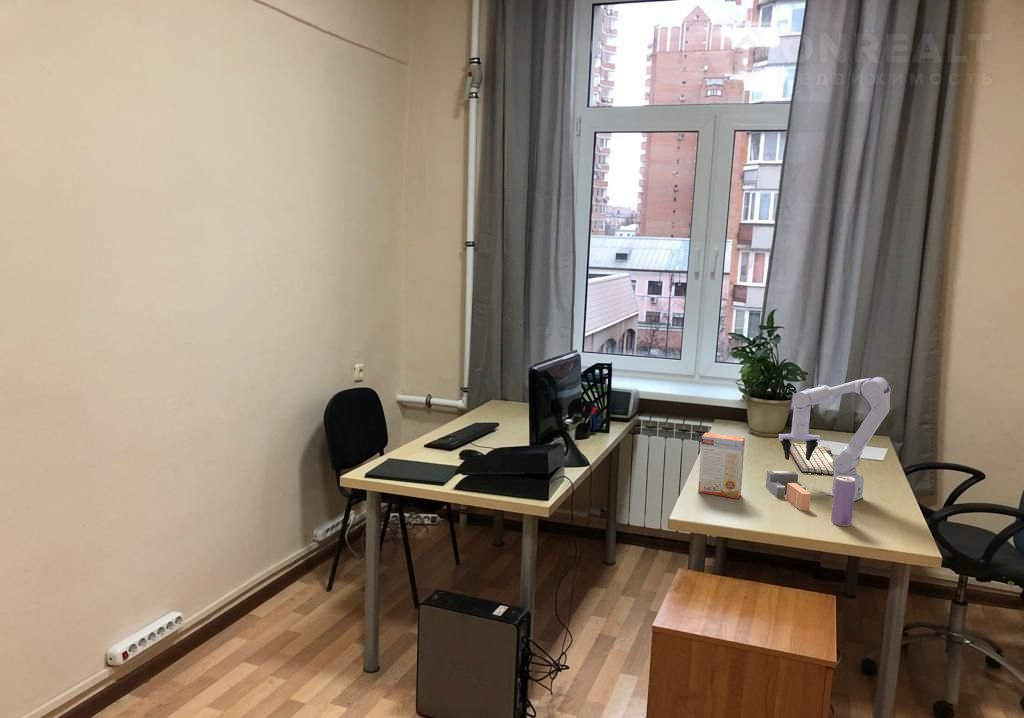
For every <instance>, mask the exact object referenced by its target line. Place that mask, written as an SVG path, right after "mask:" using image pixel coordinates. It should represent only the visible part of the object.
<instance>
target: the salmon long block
mask: <svg viewBox="0 0 1024 718" xmlns="http://www.w3.org/2000/svg"><path fill="white" fill-rule="evenodd" d="M785 493H786V494H785V496H786V497H785V500H786V501H788V502H789V503H790V504H791V505H793V506H794V507H795V508H796V509H798V510H799V511H801V512H803V511H804V512H810V511H811V510H810V509H811V502H812V501H811V500H812V493H810V492H809V491H808V490H807V489H806V490H805V489H803V488H802V487H801V486H799V485H798V484H796V483H787V491H786V492H785ZM809 510H810V511H809Z"/></svg>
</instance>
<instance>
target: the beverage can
mask: <svg viewBox="0 0 1024 718" xmlns="http://www.w3.org/2000/svg"><path fill="white" fill-rule="evenodd" d="M855 485H856V482H855V479H854V478H853V477H850V476H843V475H840V476H836V479H835V487H834V496H832V498H833V499H832V507H831V518H830V520H831V522H832V524H835V525H837V526H840V527H848V526H850V525H851V524H852V521H853V511H854V502H855V501H854V494H855Z"/></svg>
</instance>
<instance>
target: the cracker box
mask: <svg viewBox="0 0 1024 718" xmlns="http://www.w3.org/2000/svg"><path fill="white" fill-rule="evenodd" d="M745 441H746V437H743V436H742V437H741V436H736V435H735V436H733V435H728V434H726V435H725V434H719V433H713V432H705V433H703V435H701V442H700V443H701V445H700V458H699V473H698V489H697V492H698V493H700V494H701V493H702V494H708V495H713V496H714V495H715V496H719V497H720V496H721V497H726V498H731V499H739V497H740V496H741V495H742V485H743V471H744V459H745V458H744V457H745V445H746V444H745V443H746V442H745Z"/></svg>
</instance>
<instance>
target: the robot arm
mask: <svg viewBox="0 0 1024 718" xmlns="http://www.w3.org/2000/svg"><path fill="white" fill-rule="evenodd" d="M891 391H892V390H891V386H890V384H889V382H888V380H887V379H886V378H884V377H882V376H876V377H873V378H871V377H869V378H862V379H861V378H860V379H856V380H853V381H849V382H846V383H843V384H839V385H836V386H832V387H831V386H828V385H826V384H825V385H823V383H822V384H818V385H817V387H814V388H810V387H809V388H806V389H804V390H802V391H797V392H796V393H794V394H793V395H792V398H791V401H792V404H793V410H792V411H793V414H792V422H791V432H790V433H779V434H778V440H779V441H780V443H781V446H782V449H783V452H784V459H785V460H786V461H789V460H790V457H789V456H790V448H791V445H792V444H793V443H792V442H791V441H805V442H806V443H805V444H806V459H807V460H810V458H811V455H812V453H813V451H814V449H815V448H816V447H817V446H819V443H818V442H820V441H821V436H820V435H818V434H811V433H809V430H810V429H809V428H810V419H811V407H812V405H813V406H814V405H818V404H822V403H826V402H830V401H832V399H833V398H834V397H835V396H839V395H844V394H849V393H856V394H857V395H862V396H863V397H864V398H865V399H866V401H868V403H869V405H870V408H871V409H870V411H869V413H867V415H866V417H865V418H864V419H863V421H862V422H861V425H860V426H859V427H858V429H857V430H856V432H855V434H854V435H853V437H852V438H851V440H850V441H849V442H848V444H847V445H846V446H845V448H844V449H843V450H842V451H841V452H840V454H838V455H836V456H835V457H834V459H833V467H834V476H833V477H832V485H831V486H832V487H831V491H829V492H827V493H826V495H828V496H832V497H834V487H835V479H836V476H840V475H843V476H850V477H853V478H854V479H855V482H856V485H855V494H854V502H855V501H858V500H860V499H862V498H864V496H863V493H864V492H863V491H864V483H865V482H864V480H865V479H864V477H863V475H860V474H858V473H857V467H858V466H859V464H860V460H861V459H860V458H861V456H862V455H863V450H864V449H865V448H866V446H867V445H868V443H869V442H870V441H871V439H872V437H873V436H874V434H875V433H876V431H877V429H878V428H879V427H880V425H881V423H882V422H883V421H884V419H885V418H886V416H887V415H888V414H889V412H890V410H891V396H890V395H891ZM791 443H792V444H791Z"/></svg>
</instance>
